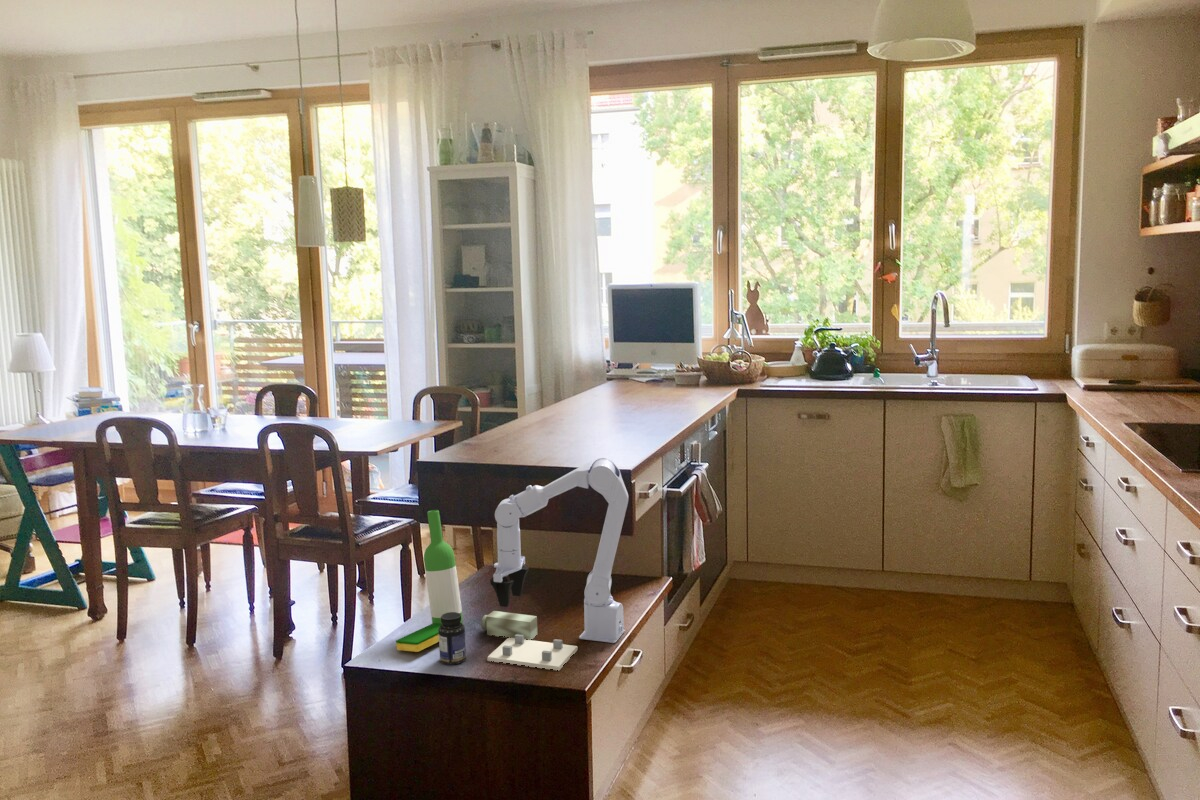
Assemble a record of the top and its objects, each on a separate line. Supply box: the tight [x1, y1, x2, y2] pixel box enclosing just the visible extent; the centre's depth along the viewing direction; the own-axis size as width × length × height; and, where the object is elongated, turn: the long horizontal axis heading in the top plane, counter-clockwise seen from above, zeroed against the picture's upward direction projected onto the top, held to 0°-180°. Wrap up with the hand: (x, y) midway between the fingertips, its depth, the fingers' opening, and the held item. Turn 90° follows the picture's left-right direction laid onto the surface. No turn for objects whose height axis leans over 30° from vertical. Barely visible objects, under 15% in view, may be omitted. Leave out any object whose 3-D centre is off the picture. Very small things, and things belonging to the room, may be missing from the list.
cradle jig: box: [486, 634, 578, 672], centre depth 231 cm, size 18×12×3 cm, turn 71°
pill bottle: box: [438, 612, 467, 666], centre depth 229 cm, size 6×6×11 cm
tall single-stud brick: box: [480, 610, 538, 640], centre depth 244 cm, size 14×4×5 cm, turn 70°
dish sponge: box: [395, 622, 442, 653], centre depth 238 cm, size 7×14×2 cm, turn 148°
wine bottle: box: [423, 509, 464, 624], centre depth 247 cm, size 8×8×30 cm
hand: (510, 600), depth 243 cm, fingers open, 7 cm apart
